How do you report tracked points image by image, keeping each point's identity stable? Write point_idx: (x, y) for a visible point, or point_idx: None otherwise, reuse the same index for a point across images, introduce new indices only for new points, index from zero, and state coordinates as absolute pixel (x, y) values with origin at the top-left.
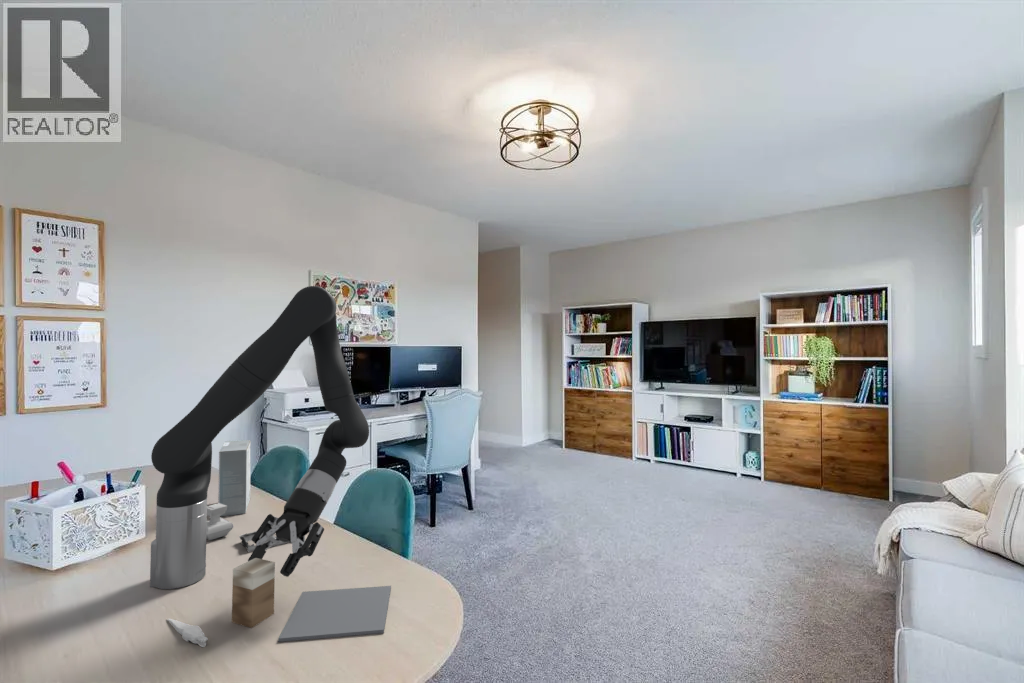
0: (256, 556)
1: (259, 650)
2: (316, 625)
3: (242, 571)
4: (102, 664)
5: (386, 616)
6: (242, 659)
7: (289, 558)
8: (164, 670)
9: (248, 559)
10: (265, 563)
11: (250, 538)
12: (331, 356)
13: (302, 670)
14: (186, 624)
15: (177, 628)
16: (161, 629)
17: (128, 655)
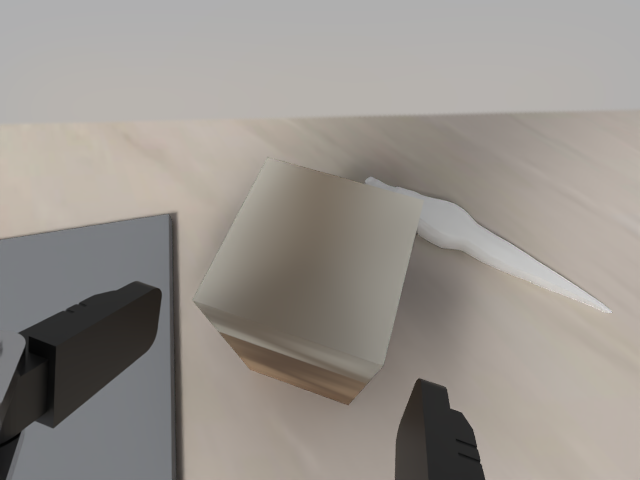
0: (415, 438)
1: (211, 187)
2: (58, 280)
3: (344, 178)
4: (555, 135)
5: None
6: (239, 158)
7: (72, 317)
8: (397, 124)
9: (470, 427)
10: (253, 275)
11: None
12: None
13: (78, 132)
14: (497, 255)
15: (510, 244)
16: (567, 260)
17: (531, 161)
